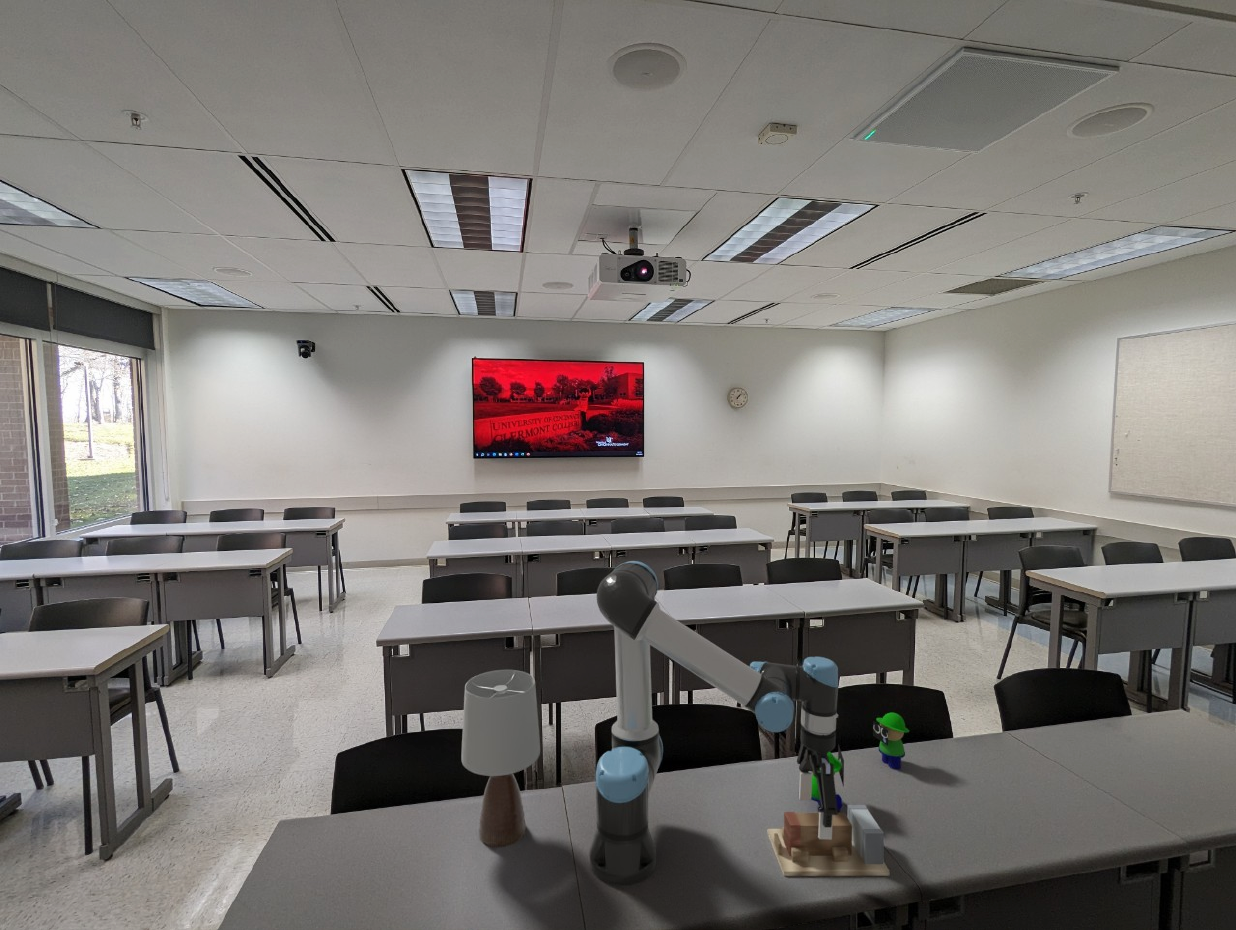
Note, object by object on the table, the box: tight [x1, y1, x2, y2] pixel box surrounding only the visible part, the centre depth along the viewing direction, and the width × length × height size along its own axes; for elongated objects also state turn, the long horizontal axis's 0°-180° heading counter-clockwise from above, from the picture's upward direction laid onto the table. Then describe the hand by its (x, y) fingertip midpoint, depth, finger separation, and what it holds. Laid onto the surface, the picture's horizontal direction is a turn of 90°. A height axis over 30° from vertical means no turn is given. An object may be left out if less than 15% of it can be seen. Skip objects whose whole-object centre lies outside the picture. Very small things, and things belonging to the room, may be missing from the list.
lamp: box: [460, 669, 541, 848], centre depth 143 cm, size 19×19×37 cm
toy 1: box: [810, 743, 845, 811], centre depth 154 cm, size 11×9×15 cm
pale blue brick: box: [846, 804, 885, 864], centre depth 136 cm, size 4×10×7 cm, turn 0°
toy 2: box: [872, 712, 910, 770], centre depth 173 cm, size 9×9×15 cm
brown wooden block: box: [783, 811, 852, 856], centre depth 136 cm, size 14×5×7 cm, turn 90°
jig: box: [767, 825, 890, 877], centre depth 136 cm, size 23×14×4 cm, turn 90°
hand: (814, 818), depth 136 cm, fingers open, 13 cm apart
